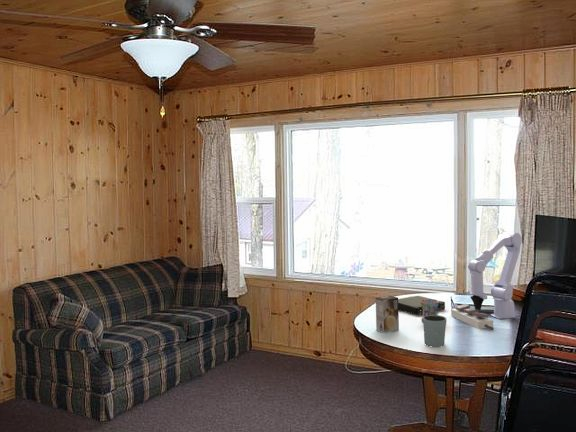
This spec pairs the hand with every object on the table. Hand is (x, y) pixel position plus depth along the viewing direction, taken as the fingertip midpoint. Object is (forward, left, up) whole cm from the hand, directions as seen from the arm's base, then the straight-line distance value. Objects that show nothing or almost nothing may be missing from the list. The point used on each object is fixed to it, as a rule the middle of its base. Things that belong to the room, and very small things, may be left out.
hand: (478, 310), depth 288 cm
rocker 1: (+4, -8, -1) cm, 9 cm away
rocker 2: (+4, 0, -1) cm, 4 cm away
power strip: (+4, +3, -5) cm, 7 cm away
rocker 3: (+4, +8, -1) cm, 9 cm away
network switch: (+18, -32, -6) cm, 37 cm away
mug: (+23, -7, -6) cm, 24 cm away
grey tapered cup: (+39, +29, -6) cm, 49 cm away
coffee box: (+50, +2, -6) cm, 50 cm away
